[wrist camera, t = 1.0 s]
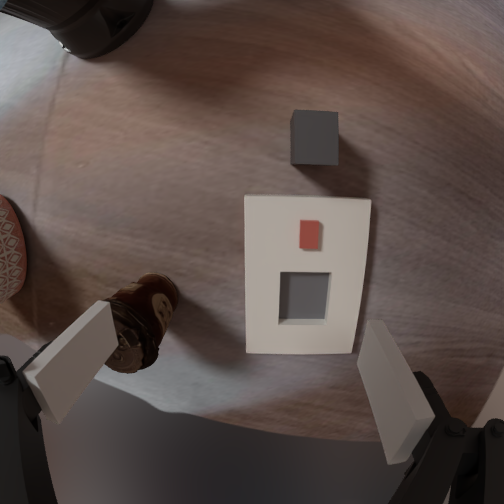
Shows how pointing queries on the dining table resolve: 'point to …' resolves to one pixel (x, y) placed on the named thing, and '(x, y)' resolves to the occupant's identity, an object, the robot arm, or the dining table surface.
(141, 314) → the coffee cup
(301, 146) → the plug
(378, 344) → the robot arm
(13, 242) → the planter
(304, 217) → the faceplate
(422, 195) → the dining table surface
